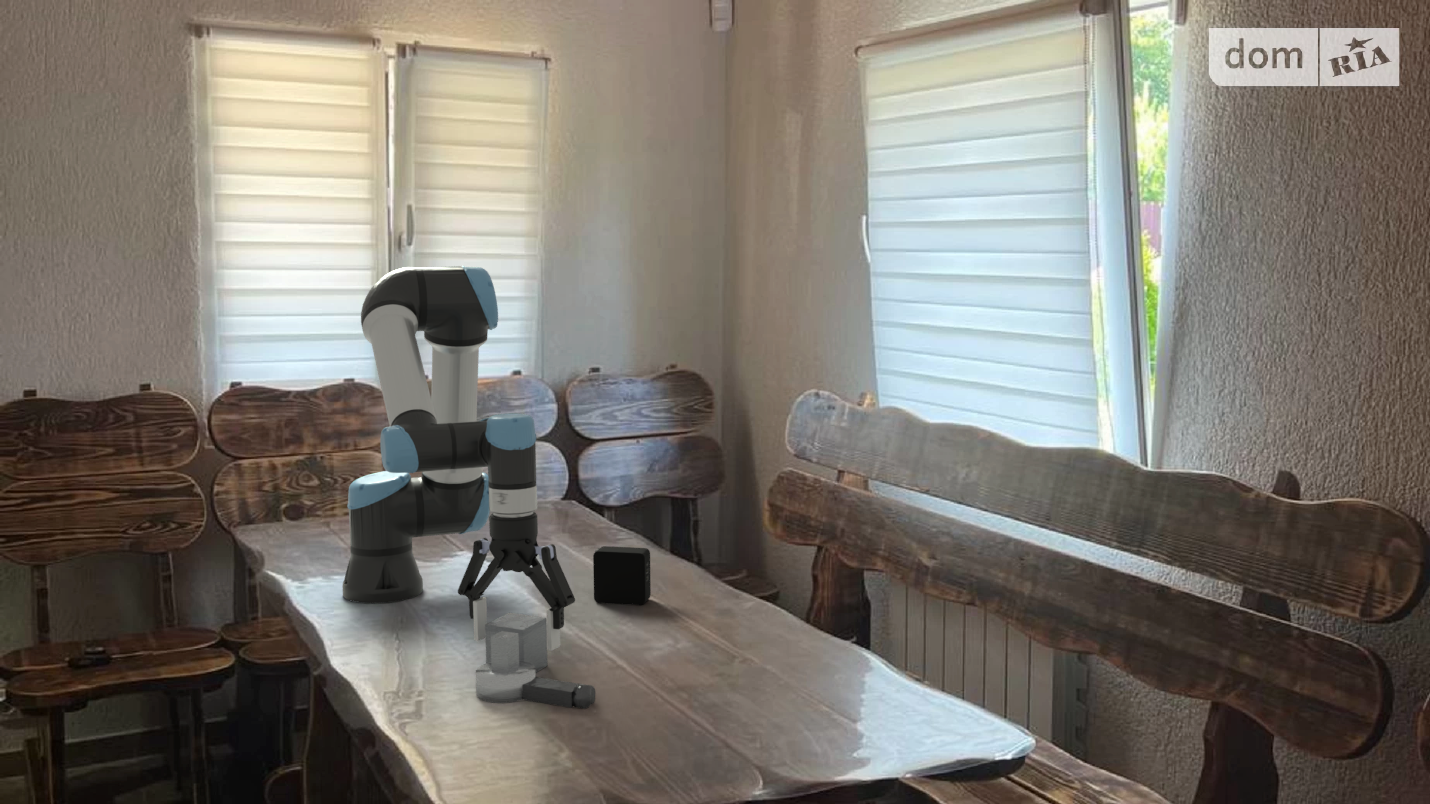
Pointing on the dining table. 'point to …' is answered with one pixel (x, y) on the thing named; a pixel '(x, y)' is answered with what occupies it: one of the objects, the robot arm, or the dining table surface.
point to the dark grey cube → (522, 637)
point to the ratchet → (524, 679)
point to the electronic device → (621, 575)
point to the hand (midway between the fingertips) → (517, 643)
